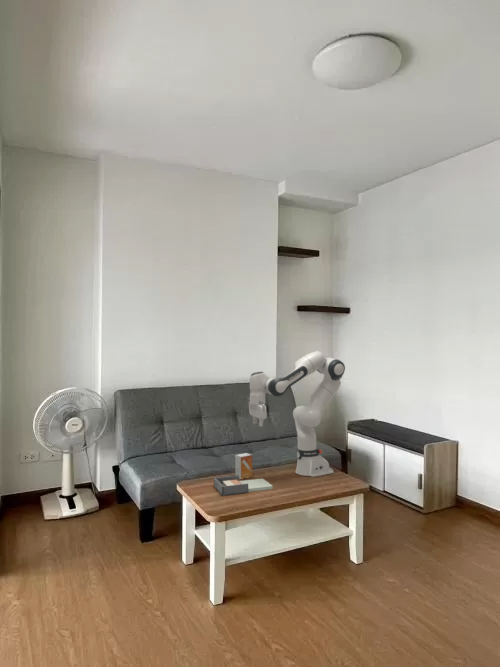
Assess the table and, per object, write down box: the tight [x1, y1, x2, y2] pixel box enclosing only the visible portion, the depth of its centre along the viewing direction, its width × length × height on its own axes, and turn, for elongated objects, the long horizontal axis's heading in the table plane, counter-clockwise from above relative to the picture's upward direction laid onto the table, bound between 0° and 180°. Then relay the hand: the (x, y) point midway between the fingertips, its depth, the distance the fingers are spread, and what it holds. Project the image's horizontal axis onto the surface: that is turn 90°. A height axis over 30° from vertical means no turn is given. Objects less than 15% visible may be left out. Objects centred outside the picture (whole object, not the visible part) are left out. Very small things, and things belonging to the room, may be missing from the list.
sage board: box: [239, 477, 274, 493], centre depth 254 cm, size 14×15×2 cm
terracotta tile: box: [230, 480, 241, 485], centre depth 250 cm, size 4×12×2 cm, turn 19°
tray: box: [213, 474, 249, 497], centre depth 249 cm, size 14×18×5 cm
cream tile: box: [223, 480, 234, 486], centre depth 249 cm, size 4×12×2 cm, turn 19°
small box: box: [234, 452, 253, 479], centre depth 272 cm, size 8×6×13 cm
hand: (258, 425), depth 265 cm, fingers open, 8 cm apart
